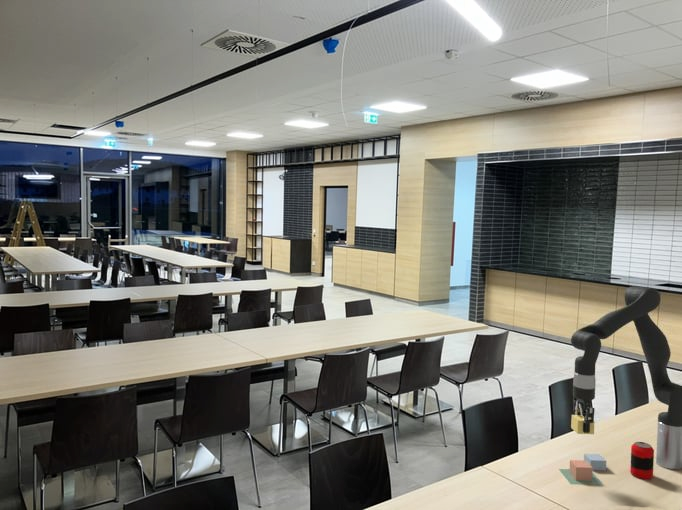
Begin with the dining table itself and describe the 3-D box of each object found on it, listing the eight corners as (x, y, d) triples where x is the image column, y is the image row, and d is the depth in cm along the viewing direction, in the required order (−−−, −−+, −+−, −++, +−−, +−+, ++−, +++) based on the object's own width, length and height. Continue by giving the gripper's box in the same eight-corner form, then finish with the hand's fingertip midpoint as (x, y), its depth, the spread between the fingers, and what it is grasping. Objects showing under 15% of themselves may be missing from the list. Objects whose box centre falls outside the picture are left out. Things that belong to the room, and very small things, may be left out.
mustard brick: (587, 428, 201) (587, 415, 201) (594, 434, 195) (594, 421, 195) (571, 427, 201) (571, 414, 201) (577, 433, 195) (578, 420, 195)
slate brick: (598, 466, 211) (599, 453, 211) (605, 473, 205) (606, 460, 205) (583, 465, 211) (584, 453, 211) (590, 472, 205) (590, 460, 205)
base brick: (585, 473, 202) (585, 460, 202) (592, 480, 196) (592, 467, 196) (569, 472, 203) (569, 460, 202) (575, 480, 197) (576, 467, 196)
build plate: (590, 472, 205) (590, 469, 205) (603, 487, 193) (604, 485, 193) (558, 471, 206) (558, 468, 206) (570, 486, 194) (570, 484, 194)
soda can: (650, 472, 206) (651, 442, 205) (655, 481, 198) (656, 450, 198) (628, 469, 208) (629, 439, 207) (632, 478, 201) (633, 447, 200)
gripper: (603, 391, 190) (601, 437, 191) (586, 379, 204) (584, 422, 205) (581, 390, 190) (580, 436, 191) (566, 379, 205) (565, 421, 206)
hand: (582, 428), depth 198 cm, fingers closed on mustard brick, 6 cm apart
